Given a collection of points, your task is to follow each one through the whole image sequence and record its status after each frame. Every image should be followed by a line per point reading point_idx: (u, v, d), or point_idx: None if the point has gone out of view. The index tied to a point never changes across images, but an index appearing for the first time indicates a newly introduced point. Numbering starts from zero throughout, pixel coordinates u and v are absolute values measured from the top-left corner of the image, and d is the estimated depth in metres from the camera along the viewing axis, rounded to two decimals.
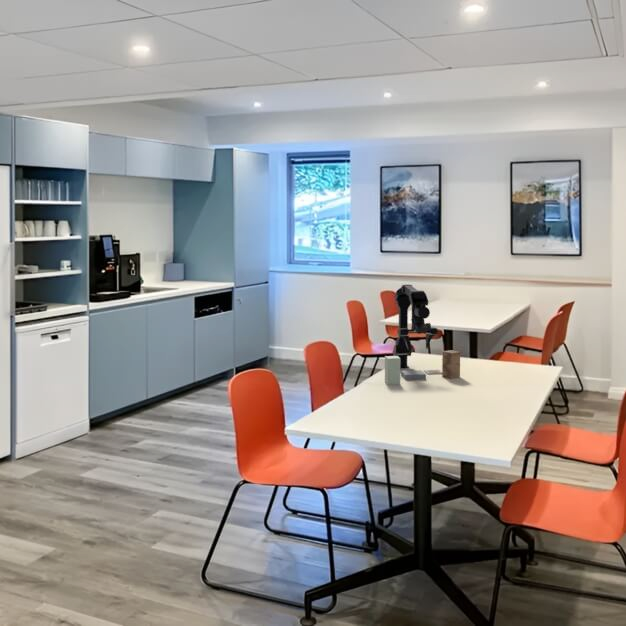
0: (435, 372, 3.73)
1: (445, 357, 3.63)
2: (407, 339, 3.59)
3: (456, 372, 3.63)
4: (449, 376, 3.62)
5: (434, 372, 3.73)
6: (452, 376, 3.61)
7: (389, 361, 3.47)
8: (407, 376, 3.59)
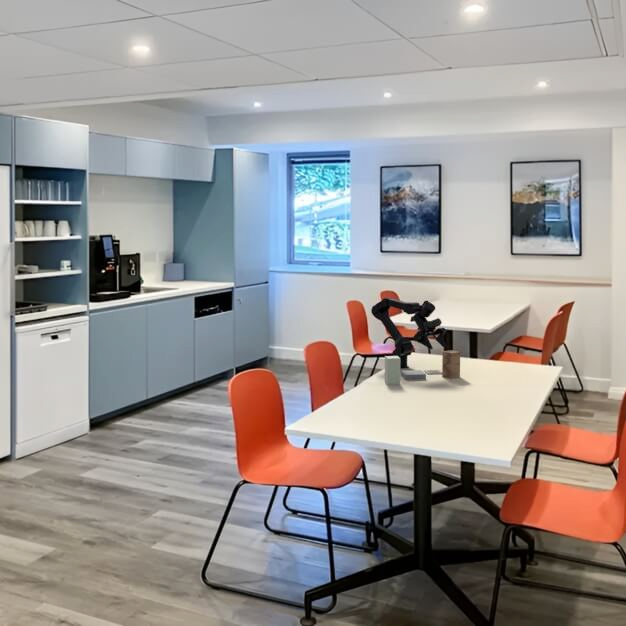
0: (435, 372, 3.73)
1: (445, 357, 3.63)
2: (427, 339, 3.67)
3: (456, 372, 3.63)
4: (449, 376, 3.62)
5: (434, 372, 3.73)
6: (452, 376, 3.61)
7: (389, 361, 3.47)
8: (407, 376, 3.59)
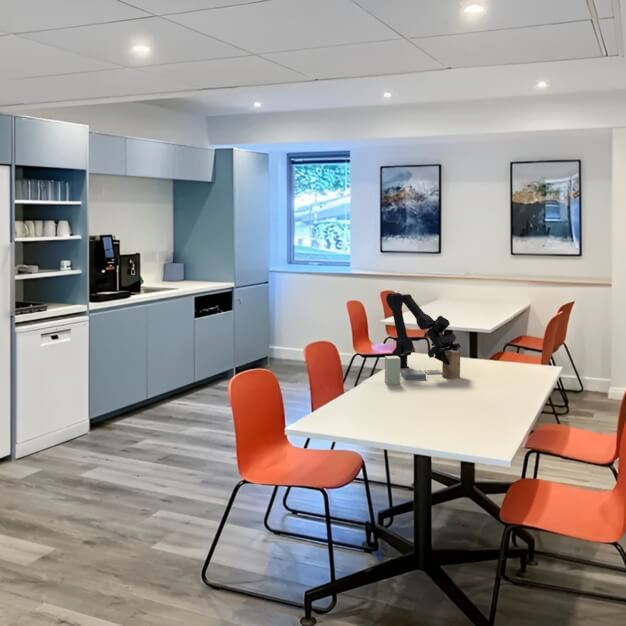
0: (435, 372, 3.73)
1: None
2: (444, 354, 3.62)
3: (457, 372, 3.63)
4: (449, 376, 3.62)
5: (434, 372, 3.73)
6: (452, 376, 3.61)
7: (389, 361, 3.47)
8: (407, 376, 3.59)
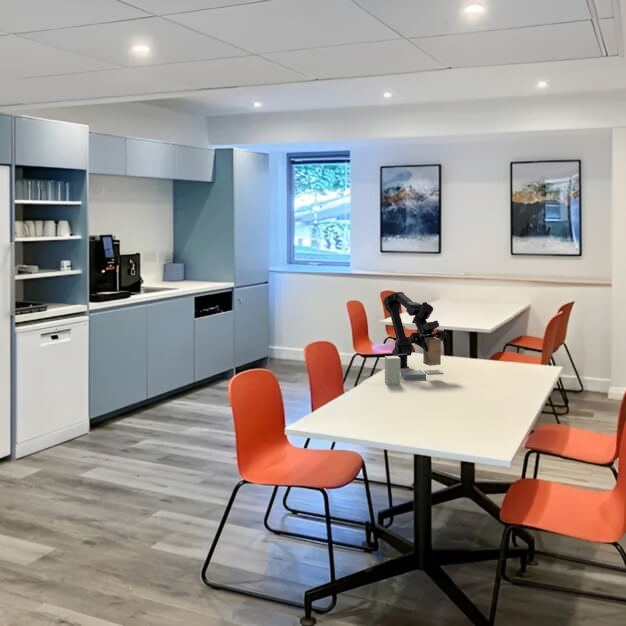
0: (435, 372, 3.73)
1: None
2: (423, 341, 3.61)
3: (436, 359, 3.60)
4: (428, 363, 3.60)
5: (434, 372, 3.73)
6: (430, 363, 3.59)
7: (389, 361, 3.47)
8: (407, 376, 3.59)
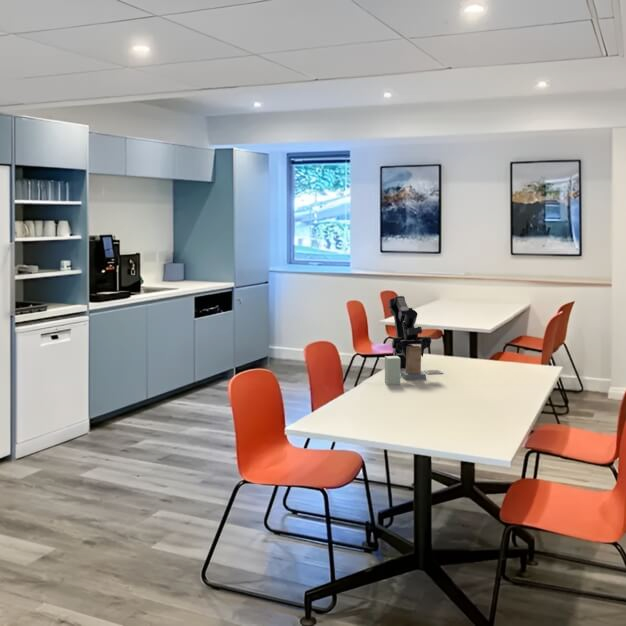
0: (435, 372, 3.73)
1: (406, 351, 3.64)
2: (402, 346, 3.63)
3: (416, 368, 3.61)
4: (407, 371, 3.62)
5: (434, 372, 3.73)
6: (409, 371, 3.61)
7: (389, 361, 3.47)
8: (407, 376, 3.59)
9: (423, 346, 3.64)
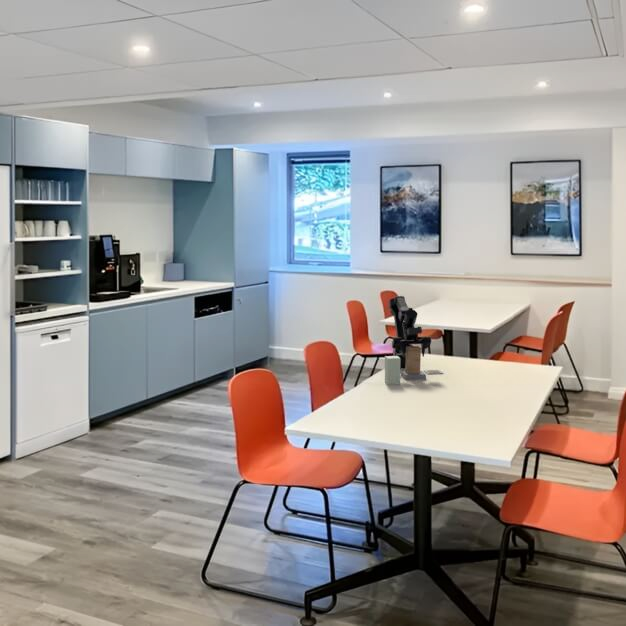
0: (435, 372, 3.73)
1: (406, 351, 3.64)
2: (401, 346, 3.63)
3: (415, 368, 3.61)
4: (407, 371, 3.62)
5: (434, 372, 3.73)
6: (409, 371, 3.61)
7: (389, 361, 3.47)
8: (407, 376, 3.59)
9: (424, 346, 3.64)
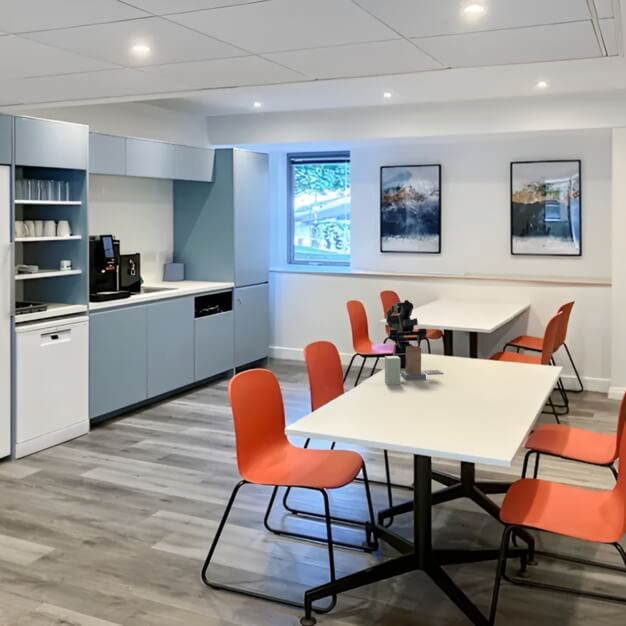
0: (435, 372, 3.73)
1: (406, 352, 3.63)
2: (398, 338, 3.71)
3: (416, 368, 3.61)
4: (408, 371, 3.62)
5: (434, 372, 3.73)
6: (410, 372, 3.60)
7: (389, 361, 3.47)
8: (407, 376, 3.59)
9: (420, 337, 3.72)
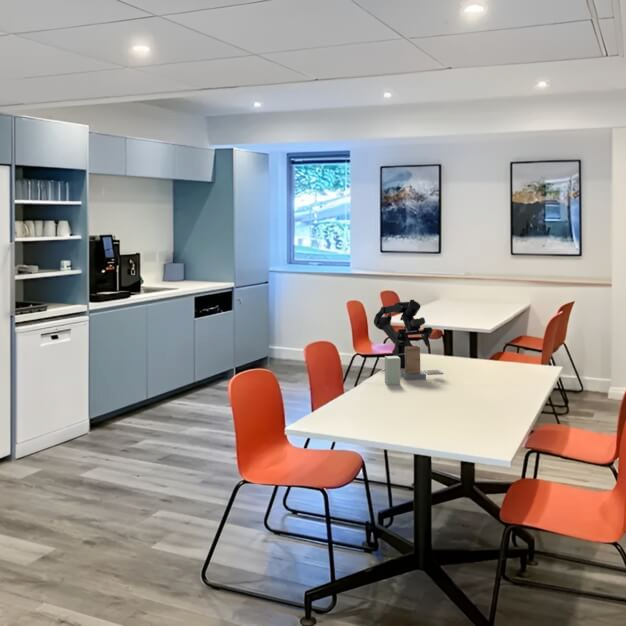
0: (435, 372, 3.73)
1: (405, 352, 3.64)
2: (407, 337, 3.72)
3: (415, 368, 3.61)
4: (407, 371, 3.62)
5: (434, 372, 3.73)
6: (409, 371, 3.61)
7: (389, 361, 3.47)
8: (407, 376, 3.59)
9: (427, 336, 3.75)
